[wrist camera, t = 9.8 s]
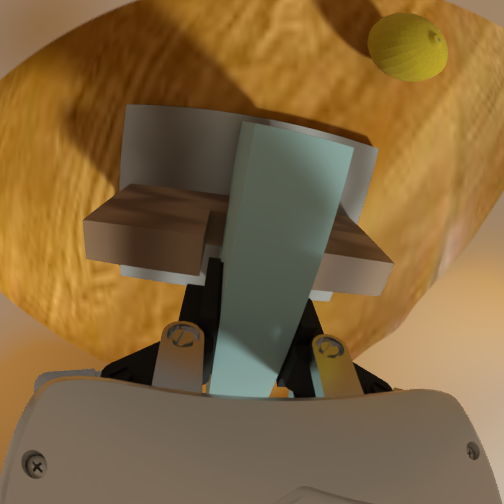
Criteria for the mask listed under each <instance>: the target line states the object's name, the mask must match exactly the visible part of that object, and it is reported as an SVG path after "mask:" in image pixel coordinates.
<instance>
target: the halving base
mask: <svg viewBox="0 0 504 504" xmlns="http://www.w3.org/2000/svg"><path fill="white" fill-rule="evenodd" d="M242 121H246V122H251V123H257V124H262V125H267V126H272V127H277V128H282V129H286V130H291V131H295V132H299V133H303V134H307V135H311V136H315V137H319V138H322V139H326V140H330V141H333V142H337V143H340V144H343V145H347V146H350V147H353V148H354V150H353V154H352V158H351V162H350V166H349V170H348V174H347V177H346V181H345V185H344V188H343V192H342V195H341V199H340V202H339V206H338V209H337V213H336V216H335V219H334V223H333V226H332V229H331V232H330V236H329V239H328V242H327V245H326V248H325V251H324V254H323V257H322V260H321V263H320V266H319V269H318V272H317V275H316V278H315V281H314V284H313V287H312V289H311V292H310V295H309V298H310V299H311V300H318V301H330V298H331V296H332V293H333V292H339V293H349V294H361V295H372V296H380V295H381V293H382V291H383V289H384V286H385V284H386V282H387V280H388V277H389V275H390V273H391V271H392V268H393V266H394V263H393V262H392V260H391V259H390V258H389V257H388V256H387V255H386V254H385V253H384V252H383V251H382V250H381V249H380V248H379V247H378V246H377V245H376V244H375V242H374V241H373V240H372V239H371V238H370V237H369V236H368V235H367V234H366V233H365V232H364V231H363V230H362V229H361V228H360V227H359V226H358V225H357V224H358V220H359V217H360V214H361V211H362V208H363V204H364V201H365V198H366V194H367V191H368V187H369V184H370V180H371V177H372V173H373V169H374V166H375V162H376V158H377V154H378V150H379V149H378V148H375V147H372V146H369V145H366V144H363V143H360V142H357V141H354V140H350V139H347V138H344V137H340V136H337V135H333V134H330V133H326V132H322V131H319V130H315V129H311V128H307V127H303V126H299V125H294V124H290V123H285V122H281V121H276V120H271V119H266V118H260V117H255V116H249V115H243V114H237V113H230V112H223V111H216V110H207V109H198V108H188V107H176V106H161V105H135V104H127V105H126V113H125V120H124V129H123V139H122V150H121V163H120V182H119V192H118V193H117V194H116V195H114V196H113V197H112V198H110V199H109V200H108V201H106V202H105V203H104V204H102V205H101V206H100V207H99V208H97V209H96V210H95V211H94V212H92V213H91V214H90V215H89V216H87V217H86V218H85V219H84V220H83V227H84V240H85V251H86V259H90V260H96V261H102V262H108V263H114V264H120V268H121V275H123V276H128V277H134V278H141V279H147V280H153V281H160V282H166V283H173V284H180V285H187V284H195V285H202V286H204V285H205V278H206V272H207V266H208V260H209V257H213V258H219V253H220V246H222V242H223V236H224V229H225V223H226V217H227V211H228V205H229V199H230V186H231V179H232V173H233V168H234V162H235V157H236V151H237V146H238V140H239V135H240V130H241V125H242Z"/></svg>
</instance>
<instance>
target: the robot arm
mask: <svg viewBox="0 0 504 504" xmlns="http://www.w3.org/2000/svg"><path fill="white" fill-rule="evenodd" d="M223 265H224V262H221V258H213V257H209V260H208V266H207V272H206V278H205V285H204V286H202V285H195V284H187V287H186V291H185V295H184V299H183V304H182V308H181V312H180V316H179V321H177V322H172V323H170V324H168V325H167V326H166V327H165V328H164V330H163V332H162V336H161V341H159V342H157V343H155V344H153V345H150V346H148V347H146V348H144V349H142V350H139V351H137V352H135V353H133V354H131V355H128V356H126V357H124V358H121V359H119V360H117V361H115V362H112V363H110V364H109V365H107V366H106V367H105V368H104V369H103V370H102V371H95V369H85V370H71V371H54V372H46V373H43V374H41V375H40V376H39V377H38V378H37V380H36V381H35V386H34V394H33V396H32V397H31V399H30V400H29V402H28V404H27V405H26V407H25V409H24V411H23V413H22V415H21V417H20V419H19V422H18V424H17V426H16V429H15V431H14V434H13V436H12V439H11V442H10V445H9V448H8V451H7V454H6V458H5V461H4V465H3V469H2V473H1V477H0V504H502V501H501V498H500V494H499V490H498V487H497V484H496V481H495V478H494V474H493V471H492V469H491V466H490V463H489V461H488V458H487V456H486V453H485V451H484V448H483V446H482V444H481V441H480V439H479V437H478V435H477V433H476V431H475V429H474V427H473V425H472V423H471V421H470V419H469V417H468V415H467V414H466V412H465V411H464V409H463V407H462V406H461V405H460V403H459V402H458V401H457V399H456V398H454V397H453V396H452V395H450V394H448V393H445V392H442V391H437V390H431V389H410V390H402V389H398V388H394V389H393V390H392V388H391V387H390V386H389V385H388V383H386V382H385V381H383V380H382V379H380V378H378V377H377V376H375V375H373V374H372V373H370V372H368V371H367V370H365V369H363V368H362V367H360V366H358V365H357V364H355V363H353V362H352V359H351V356H350V354H349V351H348V348H347V346H346V345H345V343H344V342H343V341H342V340H340V339H339V338H337V337H335V336H333V335H328V334H324V333H323V330H322V327H321V325H320V322H319V319H318V316H317V314H316V311H315V308H314V306H313V303H312V300H311V299H310V298H308V301H307V303H306V306H305V309H304V311H303V314H302V317H301V319H300V322H299V325H298V327H297V330H296V332H295V335H294V338H293V340H292V343H291V345H290V348H289V350H288V353H287V355H286V357H285V360H284V362H283V365H282V367H281V369H280V372H279V374H278V377H277V379H276V381H277V387H287V388H288V389H289V398H269V397H246V396H230V395H218V394H208V393H202V385H204V384H206V383H207V382H209V378H210V374H211V375H212V370H213V363H214V356H215V350H216V343H217V337H218V331H219V324H220V314H221V297H222V280H223Z"/></svg>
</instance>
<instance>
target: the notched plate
mask: <svg viewBox="0 0 504 504" xmlns="http://www.w3.org/2000/svg"><path fill="white" fill-rule="evenodd" d="M353 150H354V148H353V147H350V146H347V145H343V144H340V143H337V142H333V141H330V140H326V139H322V138H319V137H315V136H311V135H307V134H303V133H299V132H295V131H291V130H286V129H282V128H277V127H272V126H267V125H262V124H257V123H251V122H246V121H242V125H241V130H240V135H239V140H238V146H237V151H236V157H235V162H234V168H233V173H232V179H231V186H230V199H229V205H228V211H227V217H226V223H225V229H224V236H223V242H222V246H220V253H219V258H221V262H224V265H223V280H222V297H221V314H220V324H219V331H218V337H217V343H216V350H215V356H214V363H213V370H212V375H211V374H210V378H209V382H207V383H206V393H208V394H218V395H230V396H246V397H269V395H270V393H271V390H272V388H273V386H274V384H275V381H276V379H277V377H278V374H279V372H280V369H281V367H282V365H283V362H284V360H285V357H286V355H287V353H288V350H289V348H290V345H291V343H292V340H293V338H294V335H295V332H296V330H297V327H298V325H299V322H300V319H301V317H302V314H303V311H304V309H305V306H306V303H307V301H308V298H309V295H310V292H311V289H312V287H313V284H314V281H315V278H316V275H317V272H318V269H319V266H320V263H321V260H322V257H323V254H324V251H325V248H326V245H327V242H328V239H329V236H330V232H331V229H332V226H333V223H334V219H335V216H336V213H337V209H338V206H339V202H340V199H341V195H342V192H343V188H344V185H345V181H346V177H347V174H348V170H349V166H350V162H351V158H352V154H353Z"/></svg>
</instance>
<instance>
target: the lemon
mask: <svg viewBox="0 0 504 504" xmlns="http://www.w3.org/2000/svg"><path fill="white" fill-rule="evenodd" d="M367 45H368V51H369V54H370V56H371V58H372V60H373V62H374V63H375V64H376V65H377V67H378V68H379V69H381V70H382V71H383V72H384V73H385V74H387V75H389V76H391V77H393V78H395V79H398V80H402V81H410V82H418V81H423V80H426V79H430V78H432V77H434V76H435V75H437V74H438V73H439V72H441V71H442V70H443V68H444V67H445V65H446V63H447V59H448V48H447V43H446V41H445V38H444V37H443V35H442V33H441V32H440V31H439V29H438V28H437V27H436V26H435V25H434V24H433V23H431V22H430V21H429V20H427V19H425V18H423V17H421V16H418V15H415V14H410V13H396V14H392V15H389V16H386V17H383V18H382V19H380V20H379V21H378V22H377V23H375V24H374V25H373V27H372V28H371V30H370V32H369V34H368V39H367Z"/></svg>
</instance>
